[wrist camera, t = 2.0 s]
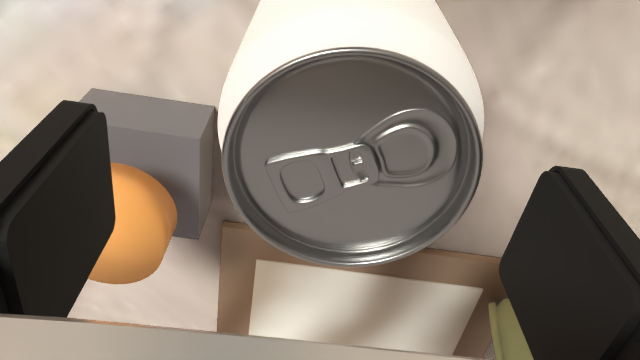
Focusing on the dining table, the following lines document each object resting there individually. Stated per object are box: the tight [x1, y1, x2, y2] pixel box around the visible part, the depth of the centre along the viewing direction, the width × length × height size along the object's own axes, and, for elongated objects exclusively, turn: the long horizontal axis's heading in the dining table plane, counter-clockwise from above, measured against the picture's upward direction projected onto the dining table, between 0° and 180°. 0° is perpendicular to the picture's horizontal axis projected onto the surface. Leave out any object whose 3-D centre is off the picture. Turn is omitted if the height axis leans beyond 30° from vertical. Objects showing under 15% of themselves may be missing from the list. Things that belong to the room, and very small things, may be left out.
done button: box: [88, 162, 177, 284], centre depth 20 cm, size 5×5×2 cm
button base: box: [79, 89, 215, 240], centre depth 24 cm, size 6×6×3 cm
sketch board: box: [217, 221, 508, 358], centre depth 32 cm, size 17×15×1 cm
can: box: [218, 0, 484, 267], centre depth 16 cm, size 6×6×12 cm
